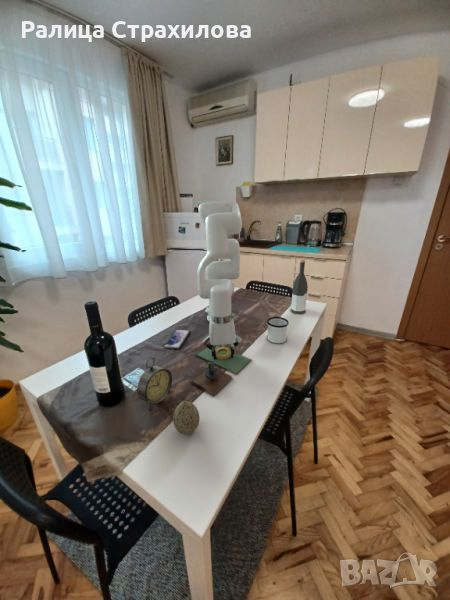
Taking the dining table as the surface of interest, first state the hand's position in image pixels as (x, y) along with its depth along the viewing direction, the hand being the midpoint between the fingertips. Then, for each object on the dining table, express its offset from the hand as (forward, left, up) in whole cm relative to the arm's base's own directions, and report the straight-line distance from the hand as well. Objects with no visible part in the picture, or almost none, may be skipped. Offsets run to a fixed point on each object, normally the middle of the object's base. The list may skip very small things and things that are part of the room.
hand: (223, 356), depth 97 cm
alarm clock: (-4, -30, -1) cm, 30 cm away
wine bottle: (+8, +60, -1) cm, 61 cm away
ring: (0, 0, +1) cm, 1 cm away
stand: (+5, -13, -1) cm, 14 cm away
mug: (+11, +27, -1) cm, 29 cm away
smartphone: (-26, -1, -1) cm, 26 cm away
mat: (0, 0, -1) cm, 1 cm away
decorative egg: (+12, -32, -1) cm, 34 cm away
